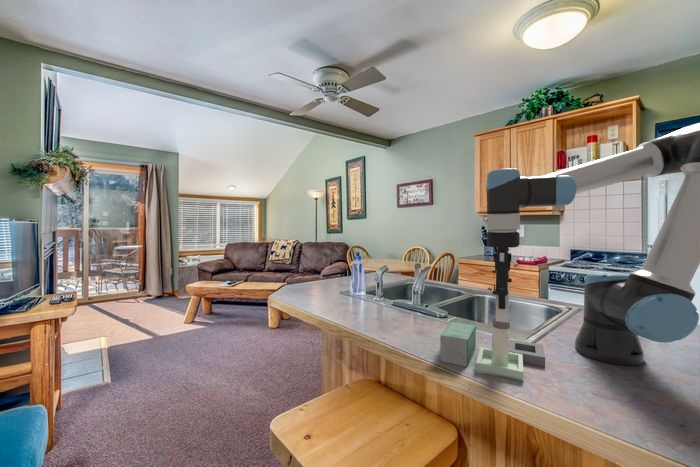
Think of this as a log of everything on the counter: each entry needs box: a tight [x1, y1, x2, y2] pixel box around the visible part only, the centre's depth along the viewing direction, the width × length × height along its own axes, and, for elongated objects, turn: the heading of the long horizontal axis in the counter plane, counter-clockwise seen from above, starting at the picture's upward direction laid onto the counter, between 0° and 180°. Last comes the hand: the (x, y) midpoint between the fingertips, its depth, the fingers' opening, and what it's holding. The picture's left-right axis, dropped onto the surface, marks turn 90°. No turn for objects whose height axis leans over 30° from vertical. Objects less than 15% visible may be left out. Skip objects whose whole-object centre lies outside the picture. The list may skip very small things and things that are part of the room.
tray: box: [475, 346, 524, 383], centre depth 83 cm, size 10×10×2 cm
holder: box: [509, 339, 546, 368], centre depth 89 cm, size 9×9×2 cm
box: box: [439, 321, 477, 367], centre depth 91 cm, size 7×14×8 cm, turn 150°
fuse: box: [491, 317, 511, 367], centre depth 82 cm, size 4×4×12 cm
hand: (502, 313), depth 82 cm, fingers open, 13 cm apart
